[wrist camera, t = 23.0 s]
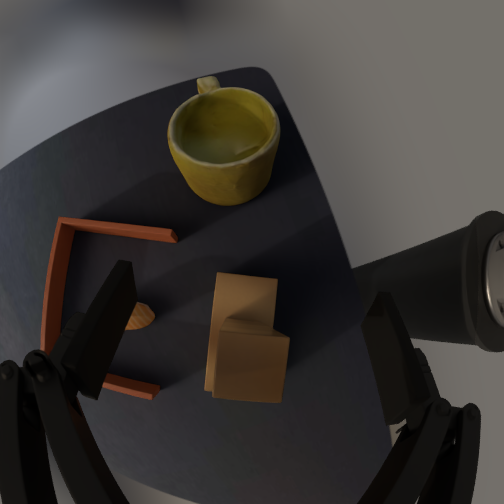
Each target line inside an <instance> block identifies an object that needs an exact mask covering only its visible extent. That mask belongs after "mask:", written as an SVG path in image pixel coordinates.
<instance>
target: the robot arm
mask: <svg viewBox="0 0 504 504" xmlns="http://www.w3.org/2000/svg"><path fill="white" fill-rule="evenodd" d="M481 282H482V292H483V298H484V303H485V306H486V309H487V312H488V315H489V317H490V318H491V320H492V321H493V323H494V324H495V325H497V326H498V327H500V328H504V232H501V233H498V234H495V235H493V236H492V237H491V238H490V239H489V241H488V243H487V245H486V247H485V250H484V254H483V260H482V270H481ZM137 302H138V297H137V292H136V286H135V281H134V274H133V268H132V262H130V261H123V260H118V262H117V263H116V265H115V266H114V268H113V269H112V271H111V272H110V274H109V276H108V277H107V279H106V280H105V282H104V284H103V285H102V287H101V288H100V290H99V292H98V293H97V295H96V297H95V298H94V300H93V302H92V303H91V305H90V307H89V309H88V310H87V312H86V314H84V313H80V312H76V313H75V314H74V315H73V316H72V317H70V318H69V320H68V322H67V323H66V325H65V328H64V329H63V330H62V332H61V335H60V336H59V337H58V339H57V341H56V343H55V345H54V347H53V348H52V350H51V352H50V354H49V356H48V355H47V353H45V352H44V351H42V350H39V349H38V350H33V351H31V352H29V353H28V354H27V355H26V356H25V359H24V361H23V367H19V366H18V365H17V364H16V363H15V362H14V361H12V360H6V361H4V362H3V363H1V364H0V494H1V499H2V504H58V503H57V499H56V494H55V490H54V486H53V481H52V476H51V471H50V465H49V459H48V452H47V444H46V435H47V438H48V441H49V443H50V446H51V449H52V452H53V455H54V457H55V460H56V462H57V465H58V467H59V469H60V472H61V474H62V476H63V478H64V481H65V483H66V486H67V488H68V490H69V491H70V494H71V496H72V498H73V500H74V502H75V504H129V502H128V501H127V499H126V497H125V496H124V494H123V492H122V491H121V489H120V487H119V486H118V484H117V482H116V481H115V479H114V477H113V475H112V473H111V471H110V470H109V468H108V466H107V464H106V462H105V460H104V458H103V456H102V454H101V452H100V450H99V448H98V446H97V444H96V441H95V439H94V437H93V435H92V433H91V430H90V428H89V426H88V423H87V421H86V418H85V416H84V413H83V411H82V408H81V405H80V403H79V400H78V398H77V396H76V395H77V393H78V390H79V391H80V392H81V394H82V395H83V396H86V397H88V398H91V399H94V400H98V397H99V394H100V391H101V388H102V386H103V383H104V380H105V378H106V375H107V372H108V370H109V367H110V365H111V362H112V360H113V357H114V355H115V352H116V350H117V347H118V345H119V343H120V340H121V338H122V335H123V333H124V331H125V328H126V326H127V324H128V322H129V319H130V317H131V315H132V313H133V310H134V308H135V306H136V304H137ZM361 328H362V332H363V335H364V339H365V342H366V346H367V349H368V353H369V356H370V360H371V364H372V368H373V371H374V375H375V379H376V383H377V387H378V391H379V396H380V400H381V404H382V409H383V413H384V418H385V423H386V426H387V425H393V424H399V423H400V422H402V421H403V420H404V419H405V418H406V422H407V423H406V424H405V425H404V426H402V427H401V428H400V429H398V430H397V431H396V433H399V432H400V431H401V433H400V435H399V437H398V439H397V440H396V442H395V444H394V446H393V448H392V450H391V452H390V453H389V455H388V457H387V459H386V460H385V462H384V464H383V465H382V467H381V469H380V470H379V472H378V474H377V475H376V477H375V478H374V480H373V481H372V483H371V484H370V486H369V487H368V489H367V490H366V492H365V493H364V495H363V496H362V498H361V499H360V500H359V502H358V503H357V504H415V502H416V501H417V499H418V497H419V499H418V502H417V504H471V501H472V497H473V491H474V486H475V479H476V473H477V466H478V457H479V446H480V428H481V414H480V410H479V408H478V407H477V406H476V405H475V404H473V403H468V404H467V405H465V406H464V407H463V408H459V407H452V406H451V404H450V403H449V402H448V401H447V400H446V399H444V398H441V397H440V395H439V392H438V389H437V386H436V383H435V380H434V378H433V375H432V373H431V369H430V367H429V366H428V362H427V359H426V356H425V355H424V353H423V352H422V351H421V350H420V348H414V347H413V345H412V342H411V339H410V337H409V335H408V332H407V330H406V327H405V325H404V323H403V320H402V318H401V316H400V313H399V311H398V309H397V307H396V304H395V302H394V300H393V298H392V296H391V293H388V292H378V294H377V296H376V298H375V300H374V302H373V304H372V306H371V308H370V310H369V311H368V313H367V315H366V317H365V319H364V321H363V322H362V324H361ZM45 432H46V435H45ZM454 441H455V444H454Z"/></svg>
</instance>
